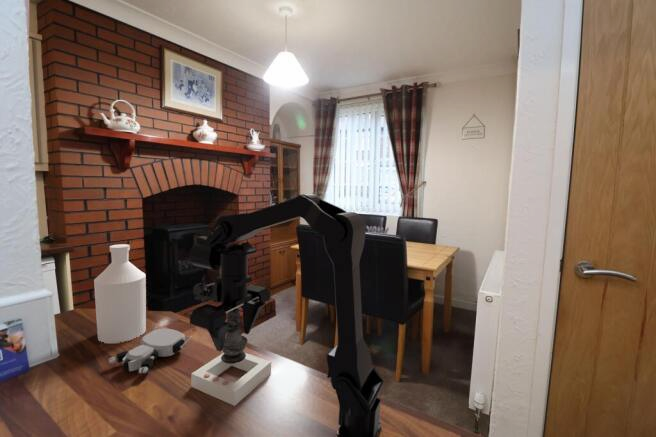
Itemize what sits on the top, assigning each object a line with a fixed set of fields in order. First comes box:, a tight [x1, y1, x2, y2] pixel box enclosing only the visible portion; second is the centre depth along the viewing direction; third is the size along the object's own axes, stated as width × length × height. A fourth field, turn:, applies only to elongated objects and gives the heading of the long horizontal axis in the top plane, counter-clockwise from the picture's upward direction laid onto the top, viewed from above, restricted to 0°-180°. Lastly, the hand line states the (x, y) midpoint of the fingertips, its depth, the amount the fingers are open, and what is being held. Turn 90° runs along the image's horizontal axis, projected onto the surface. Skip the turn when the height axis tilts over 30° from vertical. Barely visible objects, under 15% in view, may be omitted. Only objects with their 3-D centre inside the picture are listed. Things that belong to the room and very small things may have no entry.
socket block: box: [190, 352, 272, 407], centre depth 70 cm, size 12×12×3 cm
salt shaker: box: [221, 308, 248, 364], centre depth 69 cm, size 6×6×12 cm
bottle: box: [93, 243, 147, 344], centre depth 87 cm, size 12×12×25 cm
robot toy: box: [108, 326, 193, 374], centre depth 77 cm, size 12×4×15 cm
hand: (233, 341), depth 69 cm, fingers closed on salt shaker, 8 cm apart
